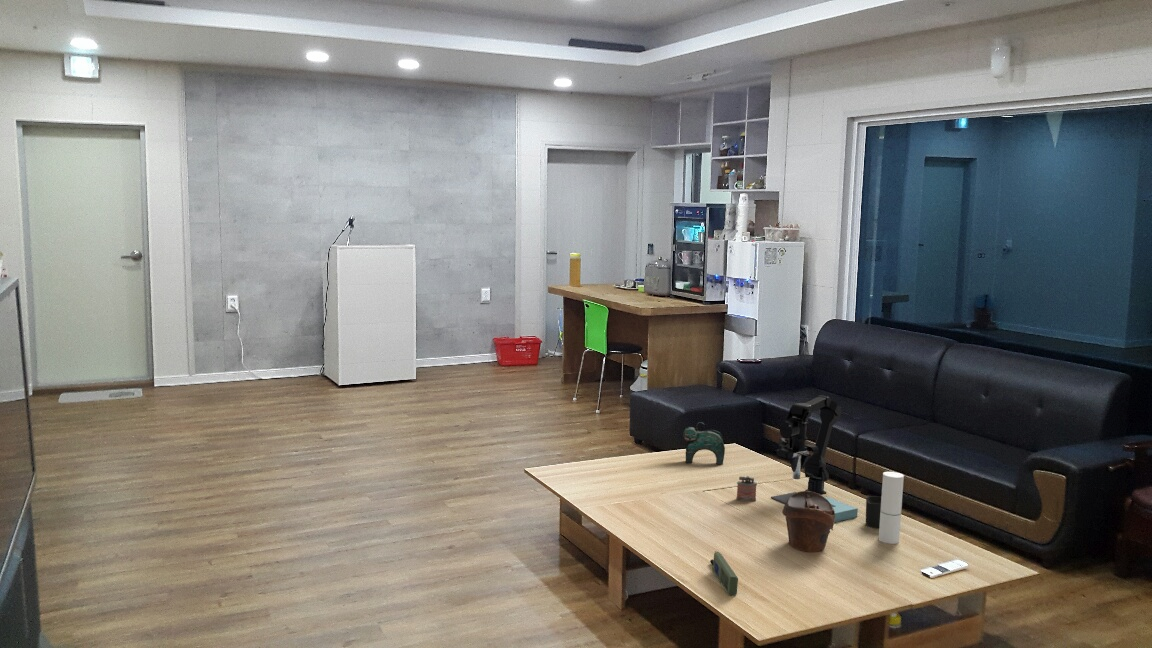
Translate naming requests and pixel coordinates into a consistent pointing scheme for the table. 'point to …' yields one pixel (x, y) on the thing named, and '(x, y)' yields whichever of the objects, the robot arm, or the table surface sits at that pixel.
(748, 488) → the lighter
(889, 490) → the cylindrical container
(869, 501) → the pen holder
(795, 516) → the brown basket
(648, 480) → the table surface
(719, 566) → the handheld radio
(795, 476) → the steel pin
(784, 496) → the rubber mat
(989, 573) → the table surface
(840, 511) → the teal square hole block
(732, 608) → the table surface
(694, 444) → the ceramic cat
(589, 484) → the table surface
